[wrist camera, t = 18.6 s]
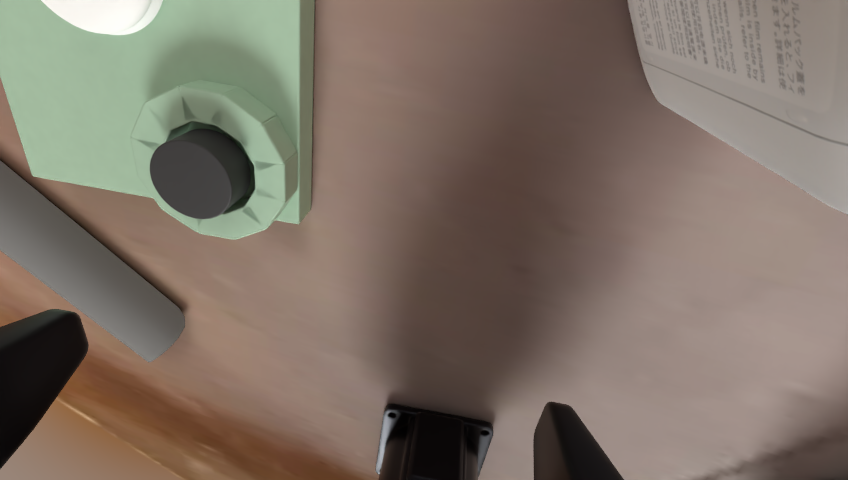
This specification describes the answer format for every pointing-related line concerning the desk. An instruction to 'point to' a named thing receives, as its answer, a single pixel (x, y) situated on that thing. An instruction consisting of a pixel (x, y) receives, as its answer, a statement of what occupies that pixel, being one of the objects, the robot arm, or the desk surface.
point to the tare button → (200, 173)
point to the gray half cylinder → (84, 270)
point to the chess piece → (106, 14)
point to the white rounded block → (757, 80)
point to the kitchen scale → (168, 98)
